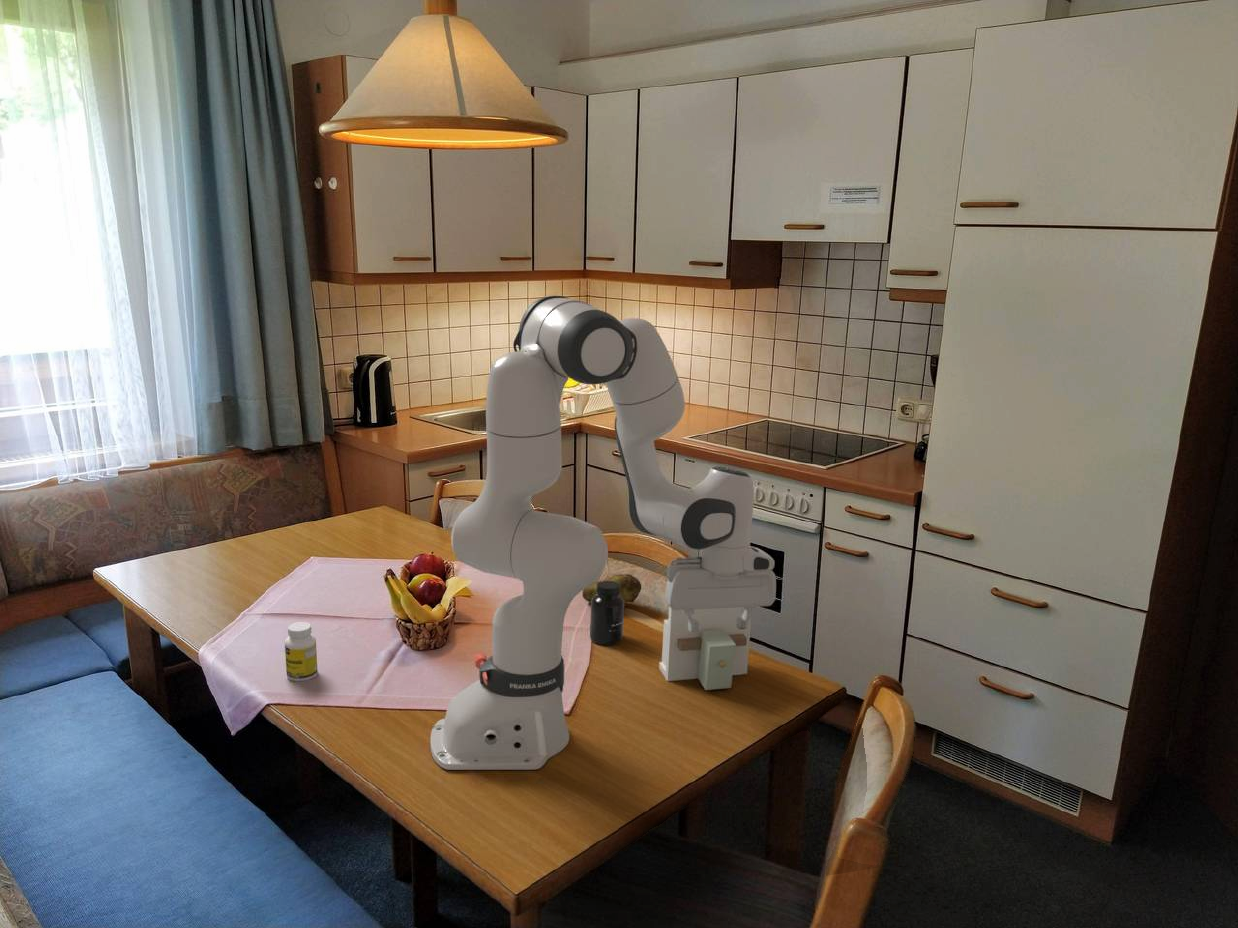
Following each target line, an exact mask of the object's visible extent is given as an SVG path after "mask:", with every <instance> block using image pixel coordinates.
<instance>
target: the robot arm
mask: <svg viewBox="0 0 1238 928" xmlns="http://www.w3.org/2000/svg"><path fill="white" fill-rule="evenodd" d="M512 343H513V345H512V346H513V351H512V352H508V353H505V354H504V355H502V356H500V357H498V358H497V359H496V360H495V361H494V362H493V364H492V366H491V367H490V371H489V375H488V382H487V388H486V389H487V390H486V398H485V399H486V401H485V424H486V425H485V428H486V429H485V431H486V461H487V462H486V478H485V482H484V485H483V488H482V490H481V492H480V494H479V496H478V497H477V498H476V499H475V501H473V502H472V503H471V504H470V505H467V507H466V508H464V509H463V510H462V511H461V512H460V513H459V514H458V516H457V517H456V519H455V521H454V523H453V526H452V528H451V535H450V537H451V538H450V541H451V548H452V551H453V553H454V555H455V558H456V559H457V560H458V561H460V563H463V564H464V565H467V566H469V567H471V568H473V569H476V570H478V571H480V572H482V573H486V574H491V575H495V576H501V577H505V578H510V579H515V580H520V581H521V582H522V585H523V593H522V594H520V595H517V596H514V597H511V598H510V599H507V600H506V601H504V602H503V603H502V604H500V606H499V607H498V608H497V609H496V611H495V613H494V615H493V618H492V621H491V622H492V628H491V629H492V631H491V632H492V633H491V634H492V635H491V636H492V637H491V639H492V642H491V643H492V645H491V647H492V648H491V651H492V652H491V656H490V657H489V658H487V655H485V653H482V652H481V653H479V652H478V653H477V654H476V655H475V656H474V659H473V660H474V663H475V665H474V666H475V667H476V668H477V669H478V670H479V671H478V672H479V673H478V675H479V676H478V679H477V680H476V681H475V682H473V683H471V684H470V685H469V686H467V687H466V688H464V689H463V690H461V691H460V692H458V693H457V694H455V695H454V696H453V697H452V698H451V700H450V702H449V703H448V706H447V709H446V711H445V717H444V718H442V719H439V720H438V721H437V722H436V723H435V724H434V725H433V727H432V729H431V732H430V739H429V740H430V742H429V743H430V745H429V746H430V751H431V755H432V757H433V759H434V761H435V762H436V763H437V765H438V766H439V767H441V768H442V769H444V770H453V771H454V770H455V771H457V770H459V771H460V770H461V771H463V770H468V771H469V770H470V771H474V770H477V771H479V770H480V771H481V770H482V771H483V770H484V771H485V770H486V771H487V770H488V771H489V770H495V771H497V770H500V771H501V770H502V771H503V770H505V771H506V770H507V771H508V770H510V771H511V770H512V771H513V770H538V769H540V768H542V767H543V766H544V765H545V764H546V762H547V761H548V759H550V758H552V757H554V756H556V755H557V754H559V753H560V752H562V750H564V749H565V747H566V746H567V745H568V744H569V741H570V731H569V729H568V727H567V726H568V725H567V722H566V715H565V710H564V704H563V703H564V702H563V691H564V685H565V660H564V658H563V655H562V643H563V631H564V621H565V617H566V613H567V610H568V608H569V607H570V604H571V602H572V601H573V600H574V599H575V597H576V596H578V595H579V594H580V593H581V592H583V590H584V589H585V588H587V587H589V586H591V585H592V584H593V583H595V582H597V581H598V580H599V578H600V577H601V576H602V574H603V572H604V571H605V568H606V565H607V561H608V555H609V551H608V544H607V539H606V538H605V535H604V533H603V531H602V530H601V528H599V526H596V525H594V524H591V523H589V522H586V521H585V520H582V519H579V518H578V517H577V518H576V517H574V516H569V515H562V514H557V513H551V512H544V511H538V510H536V509H533V506H532V496H533V495H536V494H539V493H540V492H544V491H545V490H547V489H549V488H550V487H552V486H553V485H554V484H555V483H556V482H557V480H558V479H559V477H560V475H561V473H562V468H563V461H562V460H563V457H562V456H563V455H562V421H561V420H562V418H561V417H562V416H561V407H560V406H561V404H560V403H561V398H562V395H563V394H562V393H563V391H564V388H565V386H566V385H567V382H568V380H569V379H571V380H573V381H574V382H577V383H579V384H584V385H601V384H605V383H606V384H605V385H606V388H607V391H608V394H609V396H610V399H611V402H612V405H613V407H614V411H615V415H616V416H615V419H614V434H615V440H616V444H617V448H618V452H619V456H620V459H621V463H622V467H623V472H624V477H625V480H626V483H627V488H628V508H629V509H628V510H629V516H630V520H631V522H632V523H633V525H634V527H635V528H636V529H637V530H638V531H640V532H641V533H644V534H648V535H651V536H655V537H660V538H662V539H664V540H667V541H669V542H672V543H674V544H678V545H680V546H682V547H685V548H688V549H691V550H692V549H693V550H699V551H698V553H699V554H698V556H693V557H692V556H691V557H676V558H675V559H674V560H672V561H670V563H669V564H668V566H667V568H666V569H667V571H666V577H667V581H666V582H667V583H666V587H665V592H664V593H665V594H664V601H665V603H666V605H667V606H668V608H669V607H670V608H671V609H673V610H683V611H684V613H685V615H686V617H687V619H688V630H689V631H690V632H695V631H698V630H699V628H698V627H699V622H698V621H697V620H696V619H693V618H692V616H691V614H692V615H693V614H694V610H695V609H711V608H734V607H744V608H745V609H746V610H745V611H744V613H743V615H742V616H741V617H737V624H736V625H737V628H739V629H747V627H748V621H749V619H750V618H751V619H752V616H753V615H754V614H755V613H756V607H770V606H772V605H773V604H774V602H775V601H776V597H777V596H776V594H777V593H776V592H777V578H776V574H775V573H774V571H773V569H774V568H775V560H774V558H773V557H772V556H771V555H770V554H768V553H767V552H765V551H764V550H762V549H760V548H759V547H755V546H751V537H750V526H751V525H752V522H753V517H754V516H753V515H754V503H755V501H754V498H755V497H754V494H755V493H754V484H753V483H754V482H753V479H752V477H751V476H750V475H749V474H748V473H747V472H744V471H742V470H738V469H735V468H730V467H726V466H713V467H712V466H711V468H709V471H708V474H707V476H706V477H705V478H704V479H703V480H702V481H701V482H700V483H698V484H697V485H695V486H693V487H690V488H688V487H684V486H681V485H678V484H676V483H674V482H672V481H671V480H669V479H668V478H666V477H665V476H664V475H663V472H661V466H660V463H659V460H658V456H657V451H656V447H655V441H656V440H658V439H660V438H662V437H664V436H665V435H667V434H668V433H670V432H671V431H672V430H674V428H675V427H677V426H678V424H679V422H680V421H681V420H682V417H683V415H684V412H685V406H686V405H685V397H684V392H683V388H682V385H681V381H680V378H679V375H678V372H677V371H676V367H675V365H674V361H673V360H672V357H671V354H670V353H669V350H668V349H667V346H666V345H665V343H664V340H663V339H662V337H661V336H660V334H659V332H658V330H657V329H656V327H655V326H654V325H653V324H652V322H650V321H648V320H646V319H642V318H635V317H634V318H633V317H632V318H631V317H630V318H625V319H621V320H619V319H617V318H616V317H615V316H613V315H612V314H610V313H609V312H606V311H604V310H601V309H598V308H596V307H594V306H593V305H591V304H589V303H588V302H586V301H582V300H579V299H573V298H569V297H567V296H566V297H565V296H563V295H550V296H544V297H541V298H538V299H536V300H535V301H534V302H532V303H531V304H529V306H528V307H527V308H526V310H525V312H524V313H523V315H522V317H521V320H520V323H519V327H518V332H517V333H516V336H515V337H514V340H513V342H512ZM517 347H518V349H517Z"/></svg>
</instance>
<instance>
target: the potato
mask: <svg viewBox="0 0 1238 928" xmlns="http://www.w3.org/2000/svg"><path fill="white" fill-rule="evenodd" d="M601 581H602V580H601ZM601 581H595V582H594V583H593V584H592V585H591V586H589V587H587V588H585V589H584V590H582V598H583V599H584V600H585V601H586V602H588V603H590V604H591V600H592V598H593V597H594V596H595V595H596V594H597V593H596V589H597V584H598V583H599V582H601ZM604 581H614V582H617V583H619V584H620V596H621V597H622V598H623V600H624V604H625V603H626V604H627V603H631V604H632V603H635V601H636V600H637V598H638V596H639V594H640V592H641V590H642V584H641V582H640V580H639V579H638V578H636V576H634V575H632V574H629V573H624V574H615V575H612V576H610V577H609V578H607V579H604Z"/></svg>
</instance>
